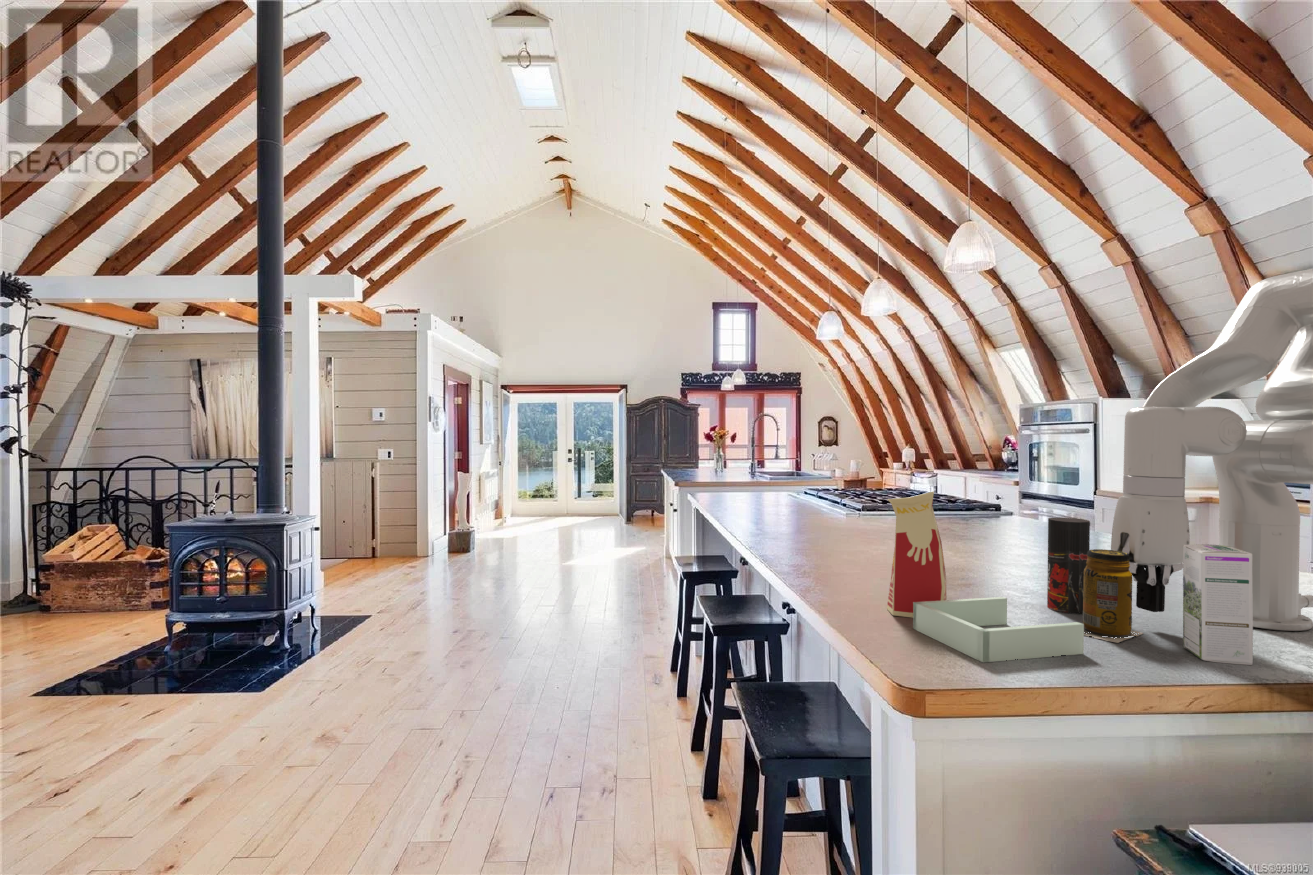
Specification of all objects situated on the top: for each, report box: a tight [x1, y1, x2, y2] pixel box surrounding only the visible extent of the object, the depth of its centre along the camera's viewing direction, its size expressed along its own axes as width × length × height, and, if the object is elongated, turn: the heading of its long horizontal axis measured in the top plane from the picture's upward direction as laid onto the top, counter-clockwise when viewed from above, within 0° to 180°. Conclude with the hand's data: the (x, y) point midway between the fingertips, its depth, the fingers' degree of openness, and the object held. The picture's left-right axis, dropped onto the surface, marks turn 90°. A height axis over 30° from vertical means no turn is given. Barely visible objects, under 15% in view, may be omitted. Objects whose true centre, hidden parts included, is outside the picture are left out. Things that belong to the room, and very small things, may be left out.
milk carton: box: [886, 490, 948, 619], centre depth 110 cm, size 9×9×20 cm
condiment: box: [1082, 548, 1144, 644], centre depth 99 cm, size 7×8×12 cm
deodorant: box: [1046, 517, 1091, 615], centre depth 112 cm, size 6×6×15 cm
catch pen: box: [912, 596, 1085, 663], centre depth 95 cm, size 16×15×4 cm
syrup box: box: [1182, 543, 1254, 666], centre depth 89 cm, size 6×6×14 cm
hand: (1150, 609), depth 101 cm, fingers closed
